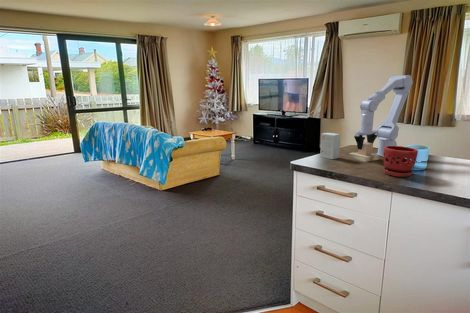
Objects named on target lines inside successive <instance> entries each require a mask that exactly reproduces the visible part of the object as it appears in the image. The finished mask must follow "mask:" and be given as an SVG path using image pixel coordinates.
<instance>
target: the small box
mask: <svg viewBox="0 0 470 313" xmlns="http://www.w3.org/2000/svg"><path fill="white" fill-rule="evenodd" d="M320 140H321V141H320V154H319V156H320V158H324V159H329V160H330V159H331V160H334V159H339V158H340V149H341V148H340V146H341V133H334V132H323V133H321V136H320Z"/></svg>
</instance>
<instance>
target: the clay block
mask: <svg viewBox="0 0 470 313" xmlns="http://www.w3.org/2000/svg"><path fill="white" fill-rule="evenodd" d="M373 147H374V143H368V142H367V141H364V142H363V147H362V150H360V149H358V148H357V152H358V154H361V155H365V156H367V155H372V153H373V151H374V150H373Z"/></svg>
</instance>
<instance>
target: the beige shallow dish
mask: <svg viewBox="0 0 470 313" xmlns="http://www.w3.org/2000/svg"><path fill="white" fill-rule="evenodd" d="M347 156H348V157H347V158H348V159H352V160H357V161H359V162H364V163H367V162H373V161H378V160H380V157H381V156H380V155H378V154H375V153H373V152H372V155H367V156H365V155H361V154H358V151H355V152H349V153H348V155H347Z"/></svg>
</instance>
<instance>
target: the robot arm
mask: <svg viewBox="0 0 470 313" xmlns="http://www.w3.org/2000/svg"><path fill="white" fill-rule="evenodd" d="M413 83H414V81H413V78H412V76H411V75H410V74H407V75H396V74H394V75H392V76H391V77H389V79H388V81H387V83H386V84H385V85H384V86H383V87H382V88H381V89H380V90H375V91H374V92H373V94H372V95H371V96H369V97H368V98H367V99H364V100H363V101H362V102H360V106H359V108H360V110H361V120H360V121H361V122H360V130H358V131H356V132H354V135H353V136H354V137H353V138H354V140H355V141H356V146H357V150H358V149H360V150H362V147H363V142H365V139H366V142H368V143H373V144H374V142H375V140H376V139H377V138H378V139H377V140H378V147H377V152H376V153H374V154H378V155H380V157H383V154H384V147H385V146H398V144H397V141H396V139H397V138H398V136H399V131H400V127H399V126H398V125H397V123H398V120H399V117H400V116H401V112H402V110H403V108H404V105H405V102H406V100H407V98H408V95H409V92H410V91H411V88H412V86H413ZM391 91H393V92H394V93H395V94H396V95H395V96H394V99H393V102H392V105H391V107H390V110H389V112H388V115H387V117H386V120H385V121H384V122H382V123H381V124H380V125H379V126H378V128H377V130H374V129H373V126H374V119H375V118H374V115H375V112H376V111H377V109H378V107H379V105H380V104H381V103H382V102H383V101H384V100H385V99H386V95H387V94H388V93H390V92H391ZM365 136H366V137H365Z"/></svg>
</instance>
